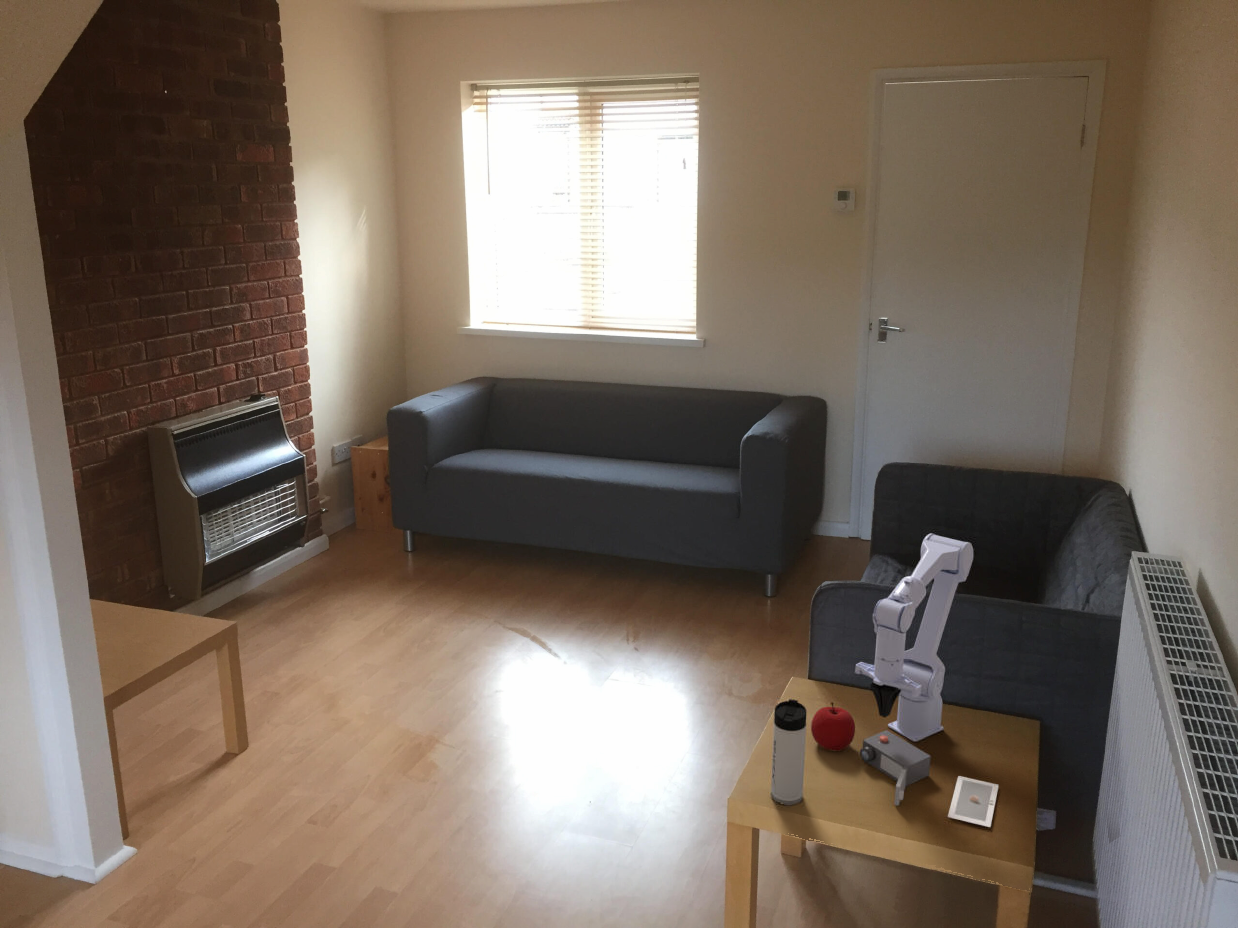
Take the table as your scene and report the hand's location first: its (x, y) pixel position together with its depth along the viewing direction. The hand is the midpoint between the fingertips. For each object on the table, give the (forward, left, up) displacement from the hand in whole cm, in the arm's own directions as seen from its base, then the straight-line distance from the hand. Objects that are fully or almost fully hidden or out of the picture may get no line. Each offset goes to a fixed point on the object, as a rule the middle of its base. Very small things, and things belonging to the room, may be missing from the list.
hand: (884, 714), depth 220 cm
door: (+7, +12, -10) cm, 17 cm away
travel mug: (+26, -1, -11) cm, 28 cm away
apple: (+5, -10, -11) cm, 15 cm away
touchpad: (-3, +21, -11) cm, 24 cm away
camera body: (0, +4, -10) cm, 11 cm away
